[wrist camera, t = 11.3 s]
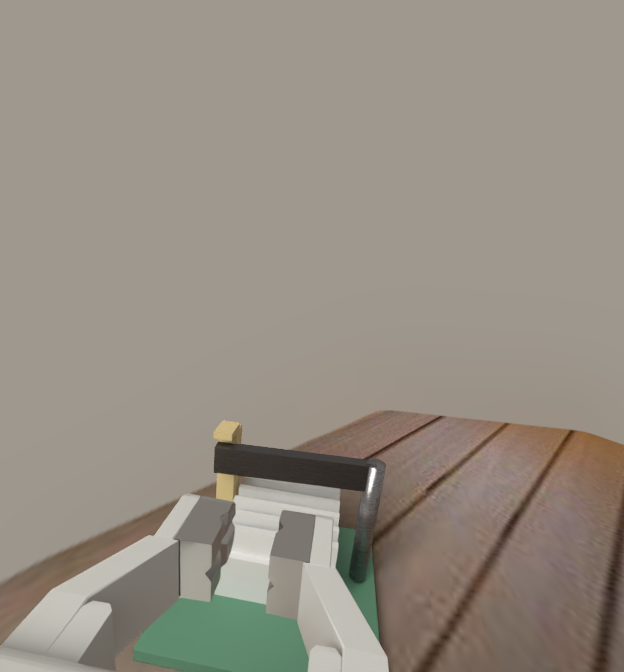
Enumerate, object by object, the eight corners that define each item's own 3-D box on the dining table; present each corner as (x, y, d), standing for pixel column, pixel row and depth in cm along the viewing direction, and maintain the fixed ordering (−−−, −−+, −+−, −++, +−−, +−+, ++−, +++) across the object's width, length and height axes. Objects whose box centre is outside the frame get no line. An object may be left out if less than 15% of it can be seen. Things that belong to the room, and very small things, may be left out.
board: (369, 539, 45) (389, 424, 41) (382, 714, 28) (419, 545, 24) (213, 511, 47) (218, 399, 43) (133, 660, 29) (129, 494, 26)
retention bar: (365, 567, 39) (384, 459, 36) (366, 584, 37) (387, 471, 34) (214, 548, 40) (219, 439, 36) (208, 563, 38) (213, 449, 34)
